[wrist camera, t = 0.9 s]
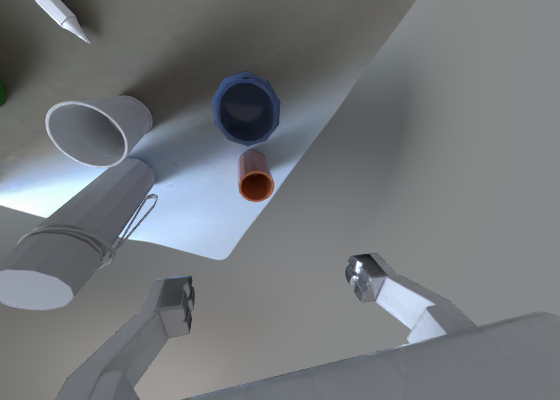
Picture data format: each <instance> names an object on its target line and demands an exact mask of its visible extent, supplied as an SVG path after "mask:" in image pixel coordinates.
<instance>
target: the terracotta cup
mask: <svg viewBox="0 0 560 400" xmlns="http://www.w3.org/2000/svg"><path fill="white" fill-rule="evenodd" d="M238 186H239V192H240V194H241V195H242V197H244V198H245V199H247V200H248V201H253V202H259V201H263V200H265V199H267V198H268V197H269V196H270V195H271V194H272V192H273V190H274V181H273V178H272V175H271V172H270V168H269V165H268V162H267V159H266V157H265V156H264V154H263V153H261V152H260V151H257V150H248V151H246V152H244V153H243V154H242V155H241V156H240V158H239V161H238Z"/></svg>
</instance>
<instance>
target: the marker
mask: <svg viewBox="0 0 560 400" xmlns="http://www.w3.org/2000/svg"><path fill="white" fill-rule="evenodd" d="M35 1H36V2H37V3H38V4H39V5H40V6H41V7H42V8H43V9H44V10H45V11H46V12H47V13H48V14H49V15H50V16H51V17H52V18H53V19H54V20H55V21H56V22H57V23H58V24H59V25H60V26H61V27H62V28H63V29H64V28H66V29H67V30H69V31H71V32H72V33H74V34H76V35H77V36H79V37H80V38H82V39H83V40H85V41H86V42H88V43H89V44H90V45H91V43H90V41H89V40H88V38H87V37H86V35H85V34H84V33H83V31H82V29H81V27H80V25H79V23H78V20H77V18H76V16H75V15H74V14H73V13H72V12H71V11H70V10H69V9H68V8H67V6H66V5H65V4H64V3H63V2H62V1H61V0H35Z"/></svg>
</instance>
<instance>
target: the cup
mask: <svg viewBox="0 0 560 400" xmlns="http://www.w3.org/2000/svg"><path fill="white" fill-rule="evenodd" d="M152 124H153V119H152V115H151V113H150V111H149V109H148V108H147V107H146V106H145V105H144V104H143V103H142V102H141V101H139V100H138V99H136V98H134V97H131V96H125V95H122V96H117V97H110V98H101V99H91V100H77V101H65V102H61V103H58V104H56V105H54V106H53V107H52V108H51V109H50V110H49V111H48V113H47V116H46V129H47V132H48V134H49V136H50V138H51V140H52V141H53V143H54V144H55V145H56V146H57V147H58V148H59V149H60V150H61V151H62V152H63V153H64V154H66V155H67V156H68V157H70V158H71V159H73V160H75V161H77V162H79V163H81V164H84V165H87V166H91V167H96V168H109V167H113V166H116V165H118V164H120V163H121V162H122V161H123V160H124V159H125V158H126V157H127V155H128V154H129V153H130V152H131V150H132V149H133V148H134V146H135V145H136V144H137V143H138V142H139V140H140V139H141V138H142V137H143V136H144V135H145V134H146V133H147V132H149V131H150V129H151V128H152Z"/></svg>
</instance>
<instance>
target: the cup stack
mask: <svg viewBox="0 0 560 400" xmlns="http://www.w3.org/2000/svg"><path fill="white" fill-rule="evenodd" d="M216 115H217V121H218V123H219V125H220V127H221V128H222V130H223V132H224V133H225V134H226V135H227V136H228V137H230V138H231V139H232V140H233V141H236V142H239V143H242V144H256V143H258V142H260V141H263V140H265V139H266V138H267V137H268V136H269V135H270V134H271V133H272V132H273V130H274V128H275V125H276V122H277V120H278V107H277V104H276V101H275V99H274V96H273V94H272V93H271V92H270V91H269V90H268V89H267V88H266V87H265V85H264V84H262V83H260V82H258V81H256V80H253V79H251V78H238V79H236V80H234V81H232V82H230V83H227V85H226V86H225V87H224V89H223V90H222V91H221V93H220V94H219V96H218V99H217V104H216Z"/></svg>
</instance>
